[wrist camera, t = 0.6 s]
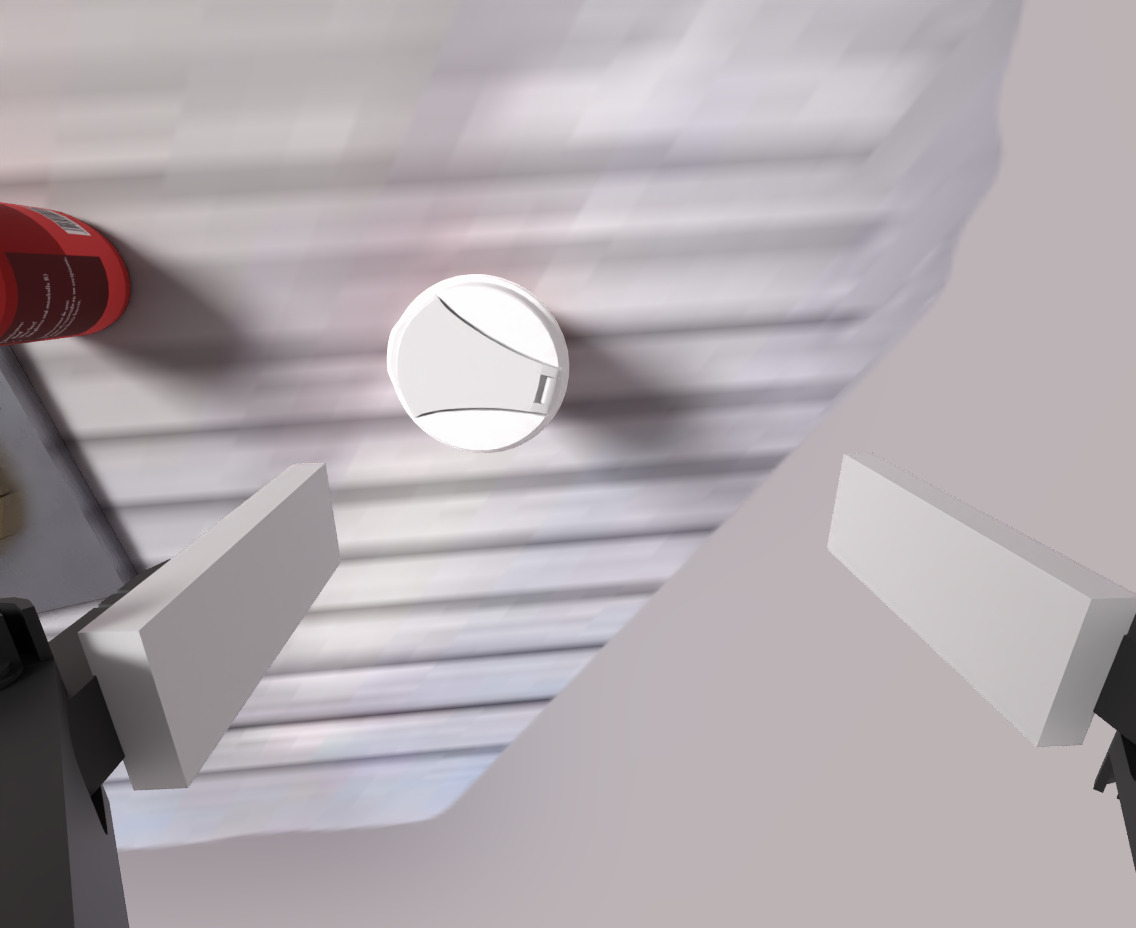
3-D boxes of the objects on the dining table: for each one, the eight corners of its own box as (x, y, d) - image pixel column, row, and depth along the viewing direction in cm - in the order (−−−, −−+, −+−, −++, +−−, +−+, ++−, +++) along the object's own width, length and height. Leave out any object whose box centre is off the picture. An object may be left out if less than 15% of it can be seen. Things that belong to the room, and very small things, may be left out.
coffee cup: (572, 294, 37) (593, 305, 23) (542, 408, 40) (544, 479, 26) (451, 259, 36) (396, 248, 22) (428, 378, 39) (364, 436, 24)
